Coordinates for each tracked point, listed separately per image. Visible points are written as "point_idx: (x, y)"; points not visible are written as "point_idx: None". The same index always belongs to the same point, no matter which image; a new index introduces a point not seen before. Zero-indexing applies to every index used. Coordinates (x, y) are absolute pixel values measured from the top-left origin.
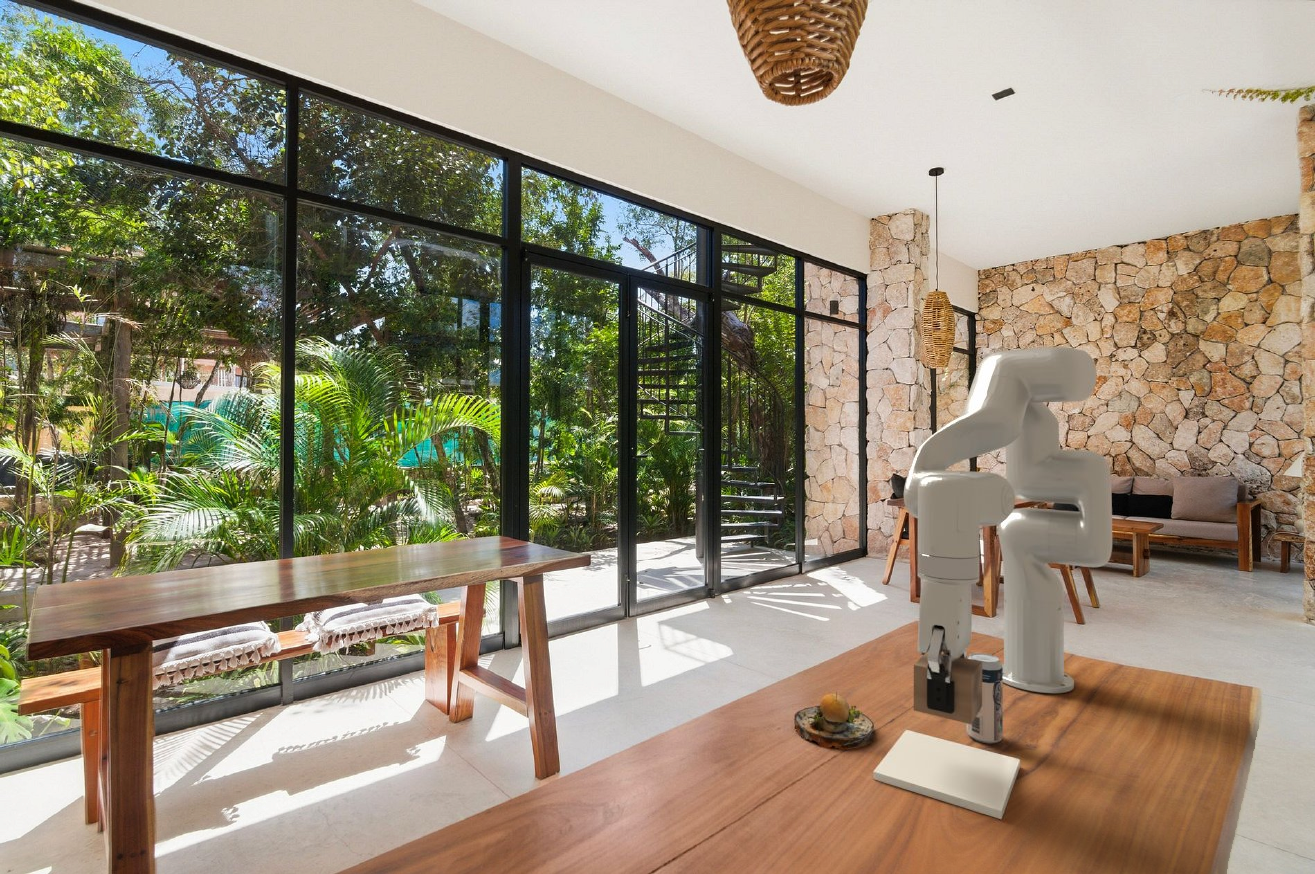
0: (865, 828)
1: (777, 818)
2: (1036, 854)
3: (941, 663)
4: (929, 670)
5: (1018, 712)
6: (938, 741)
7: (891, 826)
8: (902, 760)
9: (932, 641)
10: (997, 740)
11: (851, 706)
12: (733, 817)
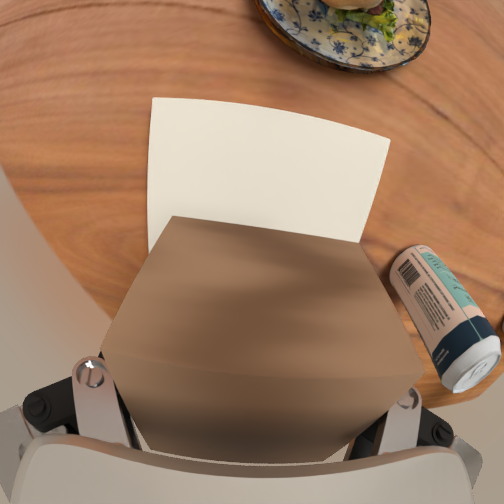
0: (36, 139)
1: (14, 49)
2: (113, 308)
3: (229, 427)
4: (31, 394)
5: (476, 297)
6: (358, 202)
7: (55, 165)
8: (232, 139)
9: (9, 497)
10: (393, 286)
11: (395, 18)
12: (6, 19)
